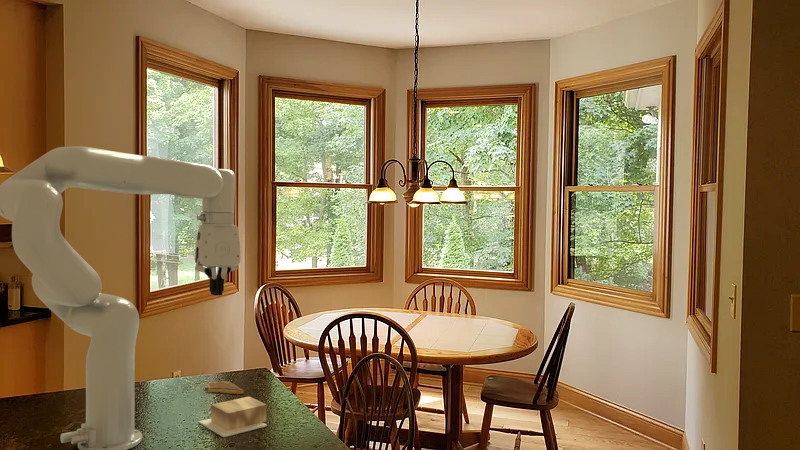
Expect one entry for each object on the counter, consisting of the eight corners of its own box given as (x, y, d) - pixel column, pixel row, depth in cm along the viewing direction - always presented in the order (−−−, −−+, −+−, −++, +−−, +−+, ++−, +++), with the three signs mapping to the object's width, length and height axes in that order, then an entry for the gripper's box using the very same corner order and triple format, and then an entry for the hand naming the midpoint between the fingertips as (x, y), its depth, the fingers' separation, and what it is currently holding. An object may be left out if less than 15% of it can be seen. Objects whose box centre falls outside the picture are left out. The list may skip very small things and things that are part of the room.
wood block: (266, 421, 154) (227, 430, 147) (249, 412, 160) (211, 421, 153) (266, 404, 154) (227, 413, 147) (249, 396, 160) (211, 404, 153)
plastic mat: (223, 437, 145) (223, 435, 145) (198, 422, 153) (198, 421, 153) (266, 426, 152) (266, 424, 152) (240, 412, 161) (240, 411, 161)
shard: (244, 395, 176) (244, 389, 176) (216, 400, 172) (216, 393, 171) (229, 386, 185) (229, 379, 185) (202, 390, 180) (202, 383, 180)
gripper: (194, 220, 151) (192, 299, 152) (253, 220, 161) (251, 294, 162) (182, 218, 157) (180, 294, 158) (239, 219, 167) (237, 291, 167)
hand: (216, 294), depth 160 cm, fingers closed
